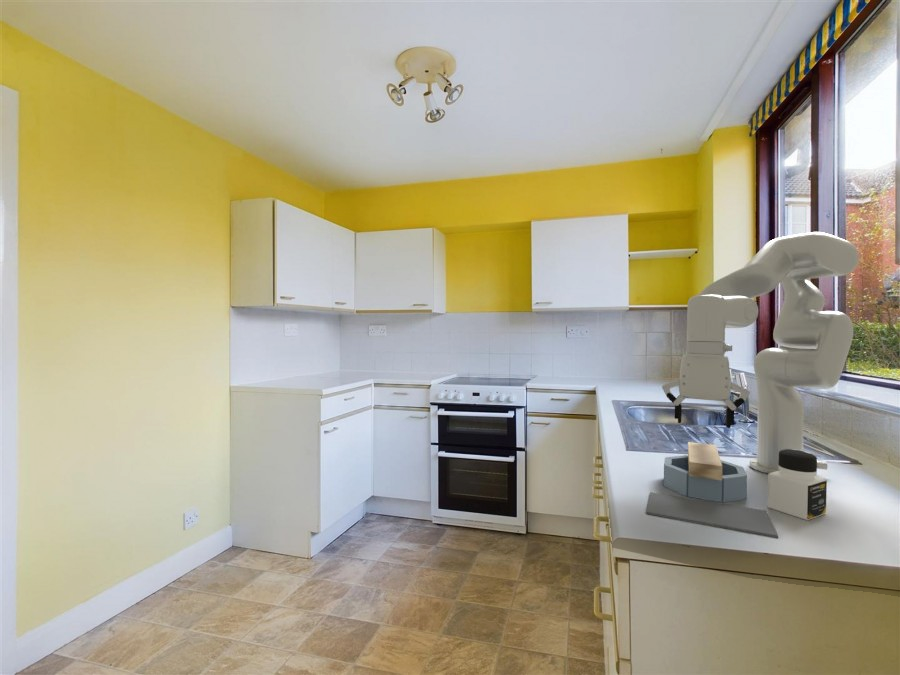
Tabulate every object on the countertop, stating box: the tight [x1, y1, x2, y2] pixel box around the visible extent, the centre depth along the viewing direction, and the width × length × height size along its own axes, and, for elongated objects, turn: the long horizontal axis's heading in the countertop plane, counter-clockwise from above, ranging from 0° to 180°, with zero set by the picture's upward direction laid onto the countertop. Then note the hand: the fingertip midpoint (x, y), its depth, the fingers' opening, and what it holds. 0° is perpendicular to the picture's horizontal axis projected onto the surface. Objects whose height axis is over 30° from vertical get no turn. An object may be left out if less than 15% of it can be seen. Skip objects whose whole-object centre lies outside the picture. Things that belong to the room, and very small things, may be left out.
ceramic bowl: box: [663, 454, 748, 503], centre depth 101 cm, size 16×16×5 cm
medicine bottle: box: [767, 449, 828, 521], centre depth 88 cm, size 7×7×12 cm
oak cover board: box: [687, 441, 722, 480], centre depth 101 cm, size 6×19×3 cm, turn 152°
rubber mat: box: [646, 491, 779, 539], centre depth 87 cm, size 21×12×1 cm, turn 62°
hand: (703, 424), depth 101 cm, fingers open, 9 cm apart
